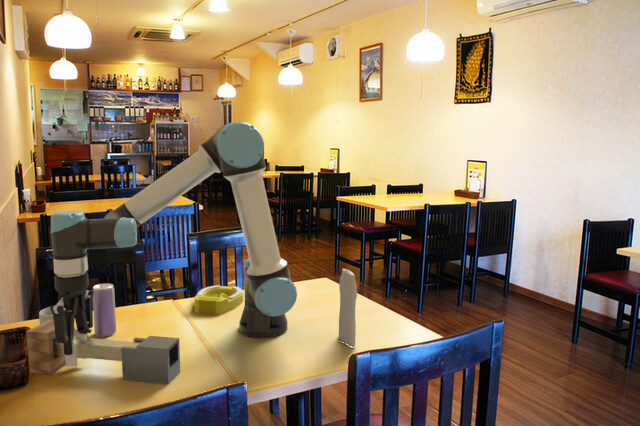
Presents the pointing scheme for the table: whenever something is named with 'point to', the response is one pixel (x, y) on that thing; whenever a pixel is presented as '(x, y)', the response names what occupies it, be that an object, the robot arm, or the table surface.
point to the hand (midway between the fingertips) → (77, 361)
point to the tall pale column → (347, 307)
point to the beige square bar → (95, 348)
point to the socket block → (43, 349)
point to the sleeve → (151, 360)
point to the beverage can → (104, 310)
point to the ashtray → (218, 299)
